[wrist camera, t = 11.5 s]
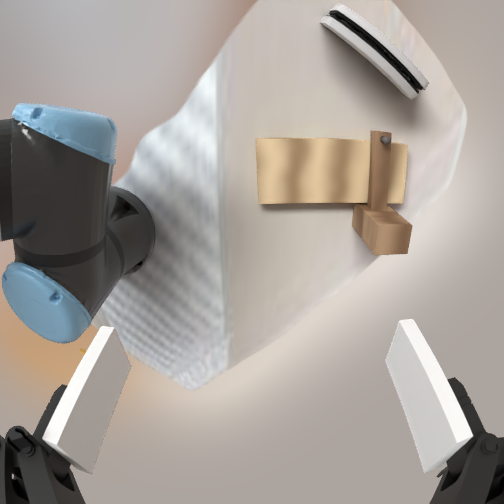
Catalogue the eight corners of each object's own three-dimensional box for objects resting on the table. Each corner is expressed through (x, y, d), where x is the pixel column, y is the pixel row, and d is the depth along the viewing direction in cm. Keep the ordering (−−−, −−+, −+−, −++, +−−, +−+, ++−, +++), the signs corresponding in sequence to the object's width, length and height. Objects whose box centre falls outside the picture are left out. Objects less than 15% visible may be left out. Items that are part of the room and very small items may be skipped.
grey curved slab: (421, 76, 32) (445, 87, 24) (402, 94, 35) (422, 109, 28) (337, 2, 27) (341, -9, 20) (318, 22, 31) (317, 16, 23)
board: (258, 200, 42) (258, 204, 40) (255, 138, 38) (255, 139, 36) (397, 199, 41) (402, 203, 39) (401, 143, 37) (407, 145, 35)
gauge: (352, 225, 43) (374, 255, 34) (356, 128, 36) (384, 134, 28) (380, 225, 43) (407, 253, 34) (387, 131, 36) (421, 138, 27)
